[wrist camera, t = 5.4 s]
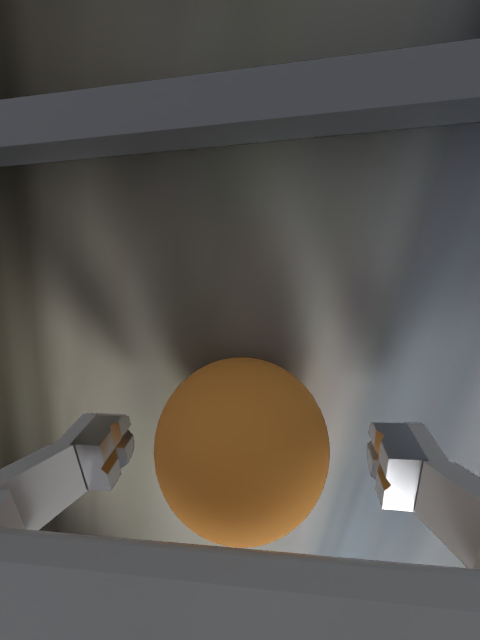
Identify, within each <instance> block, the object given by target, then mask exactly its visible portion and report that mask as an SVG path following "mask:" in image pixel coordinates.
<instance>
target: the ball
mask: <svg viewBox="0 0 480 640" xmlns="http://www.w3.org/2000/svg"><path fill="white" fill-rule="evenodd" d="M329 458H330V446H329V436H328V432H327V427H326V424H325V420H324V418H323V415H322V412H321V410H320V408H319V406H318V405H317V403H316V401H315V399H314V397H313V396H312V394H311V393H310V392H309V391H308V389H307V388H306V387H305V386H304V385H303V384H302V383H301V382H300V381H299V380H298V379H297V378H296V377H295V376H293V375H292V374H291V373H290V372H288V371H286V370H285V369H283V368H281V367H280V366H277V365H275V364H273V363H270V362H268V361H264V360H261V359H256V358H248V357H237V358H228V359H222V360H219V361H216V362H212V363H210V364H208V365H206V366H204V367H202V368H200V369H199V370H197V371H195V372H194V373H192V374H191V375H190V376H189V377H188V378H187V379H185V380H184V381H183V382H182V383H181V384H180V385H179V386H178V387H177V389H176V390H175V391H174V392H173V394H172V395H171V397H170V398H169V400H168V402H167V403H166V405H165V407H164V409H163V411H162V414H161V416H160V419H159V422H158V426H157V430H156V435H155V443H154V461H155V469H156V475H157V478H158V482H159V485H160V488H161V491H162V493H163V495H164V497H165V499H166V501H167V503H168V505H169V506H170V508H171V509H172V511H173V512H174V513H175V515H176V516H177V517H178V518H179V519H180V520H181V521H182V522H183V523H184V524H185V525H186V526H187V527H188V528H189V529H190V530H192V531H193V532H194V533H196V534H197V535H199V536H201V537H203V538H205V539H207V540H209V541H211V542H214V543H217V544H220V545H224V546H229V547H240V548H244V547H256V546H261V545H265V544H268V543H270V542H273V541H275V540H277V539H279V538H281V537H283V536H285V535H287V534H288V533H290V532H291V531H292V530H293V529H295V528H296V527H297V526H298V525H299V524H300V523H301V522H302V521H304V520H305V518H306V517H307V516H308V514H309V513H310V512H311V510H312V509H313V508H314V506H315V505H316V503H317V501H318V499H319V497H320V495H321V493H322V491H323V488H324V485H325V482H326V478H327V474H328V468H329Z"/></svg>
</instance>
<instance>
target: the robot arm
mask: <svg viewBox="0 0 480 640" xmlns="http://www.w3.org/2000/svg"><path fill="white" fill-rule="evenodd" d="M130 425H131V423H130V419H129V416H127V415H123V414H105V413H100V414H99V413H86V414H83V415H82V416H81V417H80V418H79V419H78V420H77V421H76V422H75V423H74V424H73V425H72V426H71V427H70V428H69V429H68V430H67V432H66V433H65V434H64V435H63V436H62V437H61V438H60V439H59V440H58V441H57V442H56V443H55V444H49V445H47V446H45V447H43V448H41V449H39V450H37V451H35V452H33V453H31V454H29V455H27V456H25V457H23V458H21V459H19V460H17V461H15V462H13V463H11V464H9V465H7V466H5V467H3V468H1V469H0V640H480V477H478V476H476V475H475V474H473V473H472V472H470V471H468V470H467V469H465V468H464V467H462V466H460V465H459V464H457V463H454V462H450V461H449V460H448V458H447V457H446V455H445V454H444V453H443V451H442V450H441V448H440V447H439V445H438V444H437V442H436V441H435V439H434V438H433V436H432V435H431V433H430V432H429V430H428V429H427V428H426V426H425V425H424V424H423V423H418V422H404V423H385V422H370V425H369V431H368V433H369V436H370V439H371V441H370V442H369V443H368V444H367V463H368V468H369V471H370V474H371V476H372V477H373V478H374V479H375V480H376V486H375V489H376V492H377V495H378V498H379V501H380V504H381V507H382V509H390V510H401V511H411V512H414V514H415V515H416V516H417V517H418V518H419V519H420V520H421V521H422V522H423V523H424V524H425V525H426V526H427V527H428V528H429V529H430V530H431V531H432V532H433V533H434V534H435V535H436V536H437V537H438V538H439V539H440V540H441V541H442V542H443V543H444V544H445V545H446V546H447V548H448V549H449V550H450V551H451V552H452V553H453V554H454V555H455V556H456V557H457V558H458V559H459V560H460V561H461V562H462V563H463V564H464V565H465V566H466V567H467V568H468V569H467V568H456V567H445V566H433V565H422V564H411V563H400V562H388V561H377V560H366V559H355V558H343V557H332V556H321V555H310V554H298V553H287V552H276V551H264V550H253V549H242V548H231V547H219V546H208V545H197V544H186V543H174V542H163V541H152V540H140V539H129V538H118V537H106V536H95V535H83V534H72V533H61V532H50V531H39V530H40V529H41V528H42V527H43V526H44V525H46V524H47V523H48V522H49V521H51V520H52V519H53V518H54V517H56V516H57V515H58V514H59V513H61V512H62V511H63V510H64V509H66V508H67V507H68V506H69V505H71V504H72V503H73V502H74V501H76V500H77V499H78V498H79V497H81V496H82V495H83V494H84V493H86V492H87V490H105V491H112V489H113V488H114V486H115V484H116V483H117V481H118V479H119V478H120V476H121V474H122V473H121V468H122V467H123V466H125V465H126V464H128V463H129V461H130V459H131V457H132V454H133V451H134V436H133V434H132V433H131V432H130V431H129V430H128V429H129V427H130Z"/></svg>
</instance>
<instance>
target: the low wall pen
mask: <svg viewBox="0 0 480 640" xmlns="http://www.w3.org/2000/svg"><path fill="white" fill-rule="evenodd" d="M472 122H480V38H478V39H470V40H462V41H455V42H447V43H439V44H431V45H423V46H415V47H408V48H400V49H392V50H384V51H376V52H369V53H361V54H353V55H345V56H337V57H330V58H322V59H314V60H306V61H298V62H290V63H283V64H275V65H267V66H259V67H251V68H244V69H236V70H228V71H220V72H212V73H205V74H197V75H189V76H181V77H173V78H165V79H158V80H150V81H142V82H134V83H126V84H119V85H111V86H103V87H95V88H87V89H80V90H72V91H64V92H56V93H48V94H40V95H33V96H25V97H17V98H9V99H1V100H0V167H4V166H14V165H25V164H36V163H46V162H57V161H68V160H78V159H89V158H100V157H110V156H121V155H131V154H142V153H153V152H163V151H174V150H185V149H195V148H206V147H217V146H227V145H238V144H248V143H259V142H270V141H280V140H291V139H302V138H312V137H323V136H334V135H344V134H355V133H365V132H376V131H387V130H397V129H408V128H419V127H429V126H440V125H451V124H461V123H472Z"/></svg>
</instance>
